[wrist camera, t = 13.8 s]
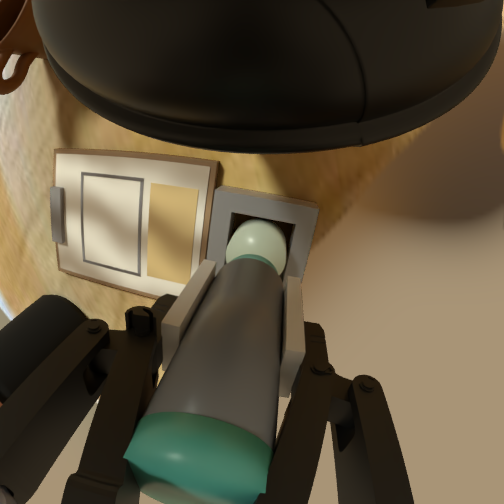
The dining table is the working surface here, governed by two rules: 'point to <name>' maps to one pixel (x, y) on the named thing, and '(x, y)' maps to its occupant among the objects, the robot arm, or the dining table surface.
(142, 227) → the board
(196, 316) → the marker
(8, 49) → the mug
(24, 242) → the dining table surface
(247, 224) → the button
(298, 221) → the button housing
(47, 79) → the dining table surface
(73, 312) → the coffee jar
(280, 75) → the water bottle
